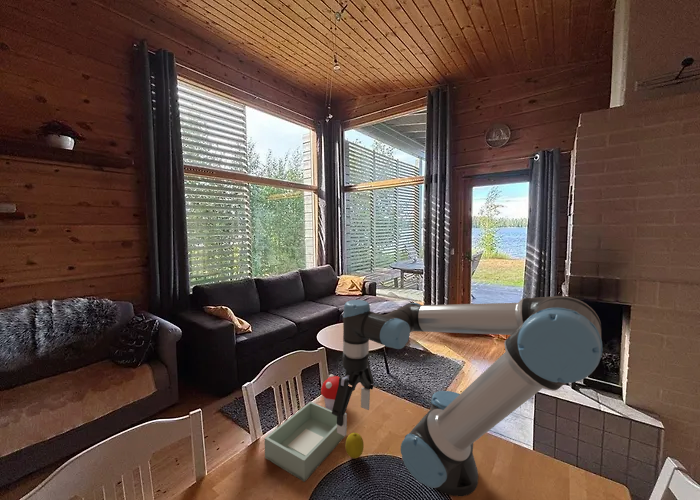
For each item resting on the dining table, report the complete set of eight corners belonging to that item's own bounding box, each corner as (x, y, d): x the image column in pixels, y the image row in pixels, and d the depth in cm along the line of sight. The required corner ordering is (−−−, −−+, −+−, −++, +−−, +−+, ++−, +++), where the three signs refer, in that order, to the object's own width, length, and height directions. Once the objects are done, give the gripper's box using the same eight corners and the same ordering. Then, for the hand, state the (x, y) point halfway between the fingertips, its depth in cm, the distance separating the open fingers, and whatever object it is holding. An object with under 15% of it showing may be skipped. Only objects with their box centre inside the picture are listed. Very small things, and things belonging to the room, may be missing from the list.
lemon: (361, 466, 90) (362, 441, 89) (343, 463, 91) (343, 438, 90) (364, 452, 95) (365, 428, 94) (347, 449, 96) (347, 425, 95)
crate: (346, 434, 102) (346, 416, 102) (304, 482, 84) (304, 460, 84) (310, 418, 111) (310, 401, 110) (264, 457, 92) (264, 438, 92)
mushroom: (337, 395, 125) (337, 367, 123) (354, 408, 116) (355, 378, 115) (315, 405, 118) (315, 376, 117) (332, 420, 110) (332, 388, 108)
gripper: (365, 336, 102) (363, 395, 104) (319, 367, 81) (318, 440, 83) (385, 341, 98) (383, 402, 100) (342, 375, 77) (341, 452, 79)
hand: (354, 420), depth 92 cm, fingers open, 13 cm apart
